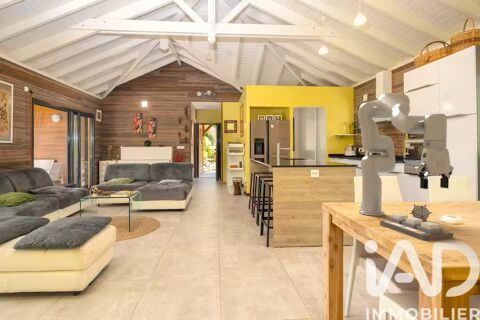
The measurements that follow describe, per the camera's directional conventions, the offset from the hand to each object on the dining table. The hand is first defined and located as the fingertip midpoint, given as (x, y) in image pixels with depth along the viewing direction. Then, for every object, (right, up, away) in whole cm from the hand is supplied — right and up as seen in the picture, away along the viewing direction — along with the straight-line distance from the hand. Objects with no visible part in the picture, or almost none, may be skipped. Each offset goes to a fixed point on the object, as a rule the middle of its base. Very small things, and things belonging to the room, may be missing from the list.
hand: (434, 188), depth 117 cm
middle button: (-4, -16, +8) cm, 18 cm away
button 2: (-2, -16, 0) cm, 16 cm away
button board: (-4, -19, +8) cm, 21 cm away
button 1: (-5, -15, +16) cm, 23 cm away
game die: (+10, -19, +25) cm, 33 cm away
